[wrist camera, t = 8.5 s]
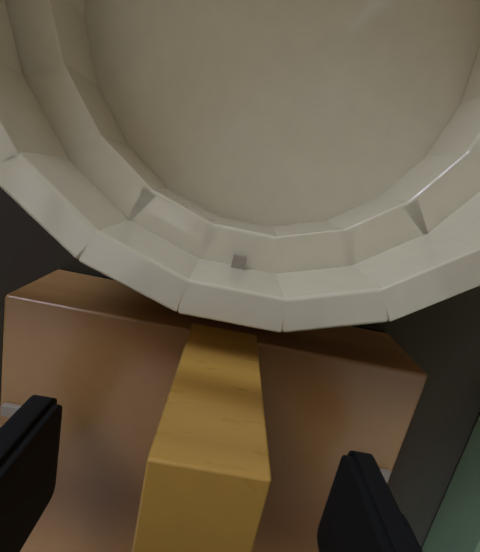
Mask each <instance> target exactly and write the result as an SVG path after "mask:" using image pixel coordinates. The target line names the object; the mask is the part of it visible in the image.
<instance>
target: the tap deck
mask: <svg viewBox="0 0 480 552" xmlns="http://www.w3.org/2000/svg"><path fill="white" fill-rule="evenodd" d="M246 261H247V256H245V255H240V254H235V253H234V254H233V259H232V264H231V267H232V268H237V269H242V270H245V265H246ZM192 324H199V325H204V326H209V327H215V328H220V329H225V330H230V331H236V332H241V333H246V334H252V335H256V337H257V346H258V356H259V365H260V375H261V384H262V393H263V403H264V412H265V422H266V431H267V440H268V450H269V459H270V469H271V478H272V481H271V485H270V489H269V492H268V496H267V500H266V503H265V507H264V510H263V514H262V518H261V521H260V525H259V529H258V532H257V536H256V540H255V543H254V547H253V551H252V552H319V549H318V543H317V531H318V526H319V523H320V520H321V517H322V514H323V511H324V508H325V505H326V502H327V499H328V496H329V493H330V490H331V487H332V484H333V481H334V478H335V475H336V472H337V469H338V466H339V463H340V460H341V457H342V456H343V455H348V453H349V451H352V450H353V451H358V452H364V453H370V454H372V455H373V457H374V458H375V460H376V462H377V464H378V466H379V468H380V471H381V473H382V475H383V477H384V479H385V481H386V483H388V480H389V478H390V475H391V472H392V470H393V467H394V465H395V462H396V459H397V457H398V454H399V451H400V449H401V446H402V443H403V441H404V438H405V435H406V433H407V430H408V427H409V425H410V422H411V419H412V417H413V414H414V411H415V409H416V406H417V404H418V401H419V398H420V396H421V393H422V390H423V388H424V385H425V382H426V380H427V374H426V373H425V372H424V371H423V370H422V369H421V368H420V367H419V366H418V365H417V364H416V363H415V362H414V361H413V359H412V358H411V357H410V356H409V355H408V354H407V353H406V352H405V351H404V350H403V349H402V348H401V347H400V346H399V345H398V344H397V343H396V342H395V341H394V340H393V339H392V338H391V337H390V336H389V335H388V334H387V333H383V332H378V331H373V330H367V329H362V328H357V327H352V326H343V327H334V328H324V329H314V330H305V331H295V332H283V331H282V332H274V331H269V330H263V329H258V328H253V327H248V326H242V325H237V324H232V323H227V322H222V321H216V320H211V319H206V318H201V317H196V316H190V315H185V314H180V313H178V311H177V312H176V311H173V310H171V309H169V308H167V307H165V306H163V305H161V304H159V303H157V302H156V301H154V300H152V299H150V298H148V297H146V296H144V295H142V294H140V293H138V292H136V291H134V290H133V289H131V288H129V287H127V286H125V285H123V284H121V283H119V282H117V281H115V280H111V279H106V278H100V277H95V276H90V275H85V274H80V273H75V272H70V271H64V270H56V271H54V272H52V273H50V274H48V275H46V276H44V277H42V278H40V279H38V280H36V281H34V282H32V283H30V284H27V285H25V286H23V287H21V288H19V289H17V290H15V291H13V292H11V293H9V294H7V295H6V297H5V312H4V336H3V359H2V383H1V406H0V428H1V427H2V426H3V425H4V424H5V422H6V421H7V420H8V419H9V418H10V417H11V416H12V415H13V414H14V413H15V412H16V411H17V410H18V409H19V408H20V407H21V406H22V405H23V404H24V403H25V402H26V401H27V400H28V399H29V398H30V397H31V396H32V395H40V396H46V397H52V398H56V399H57V404H58V405H62V407H63V410H62V421H61V432H60V443H59V454H58V464H57V475H56V485H55V490H54V493H53V495H52V498H51V500H50V502H49V503H48V505H47V507H46V509H45V510H44V512H43V514H42V515H41V517H40V519H39V520H38V522H37V524H36V525H35V527H34V529H33V530H32V532H31V534H30V536H29V537H28V539H27V541H26V542H25V544H24V546H23V547H22V549H21V551H20V552H132V546H133V540H134V534H135V528H136V522H137V516H138V510H139V504H140V498H141V492H142V486H143V480H144V474H145V467H146V461H147V457H148V454H149V451H150V448H151V445H152V442H153V439H154V436H155V433H156V430H157V427H158V424H159V421H160V418H161V415H162V412H163V409H164V406H165V403H166V400H167V397H168V394H169V391H170V388H171V385H172V382H173V379H174V376H175V373H176V370H177V367H178V364H179V361H180V358H181V355H182V352H183V349H184V346H185V343H186V340H187V337H188V334H189V331H190V328H191V325H192Z"/></svg>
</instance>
